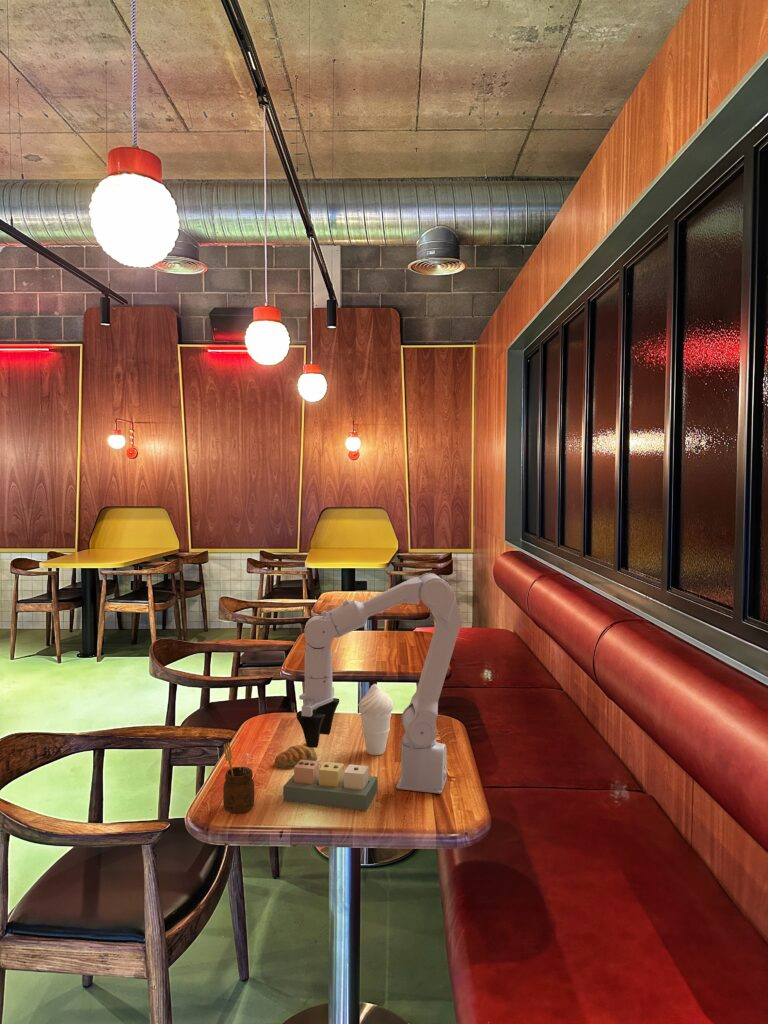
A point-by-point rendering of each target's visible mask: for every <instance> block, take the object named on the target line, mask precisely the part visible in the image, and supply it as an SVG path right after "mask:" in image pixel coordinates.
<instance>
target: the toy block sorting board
mask: <svg viewBox="0 0 768 1024" xmlns="http://www.w3.org/2000/svg"><path fill="white" fill-rule="evenodd" d="M378 777H379V776H373V775H368V785H367V787H366V788H365V790H358V789H349V788H344V781H343V782H342V784H341V785H340V786H339V787H331V786H322V785H319V779H318V780H317V781H316V783H315V784H314V785H313V784H304V783H295V782H294V774H292V776H291V777H290V778H289V779H288V781H286V783H285V784H284V785H283V791H282V792H283V793H282V794H283V795H282V796H283V797H282V800H283V802H288V803H296V804H297V803H298V804H304V805H305V804H306V805H313V806H321V807H329V808H337V809H338V808H339V809H346V810H356V811H362V812H363V811H364V812H365V811H367V810H368V809H369V807H370V805H371V804H372V802H373V801H374V798H375V796H376V794H377V793H378V781H379V779H378Z"/></svg>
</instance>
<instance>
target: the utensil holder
mask: <svg viewBox="0 0 768 1024" xmlns="http://www.w3.org/2000/svg"><path fill="white" fill-rule="evenodd" d="M223 750H224V756H225V761H228V765H229V769H227V770H226V772H225V776H224V779H225V780H224V783H223V788H222V789H223V791H222V792H223V796H222V797H223V799H222V800H223V801H222V802H223V809H224V810H225V811H226V812H227V813H230V814H243V813H247V812H249V811H251V810H252V809H253V808H254V806H255V781H254V779H253V776H254V775H253V770H252V769H251V767H252V766H250V764H252V762H253V760H252V759H251V757H252V756H251V754H250V753H249V752H248V753H247V752H246V753H243V754H242V756H240V759H241V760H239V762H238V764H239V766H236V767H233V766H232V765H233V764H232V759H233V754H232V749H231V745H230V742H229V741H228V742H227V743H224V744H223ZM247 755H248V757H249V758H248V759H249V760H248V759H245V758H247ZM243 756H244V757H243ZM242 757H243V759H242ZM244 759H245V761H244V763H242V761H243V760H244ZM247 761H249V763H250V764H248V765H247V766H242V764H243V765H246V763H247ZM245 762H246V763H245Z"/></svg>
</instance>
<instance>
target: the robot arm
mask: <svg viewBox="0 0 768 1024" xmlns="http://www.w3.org/2000/svg"><path fill="white" fill-rule="evenodd" d="M420 600H421V601H422V603H423V604H424V605H425V606H426V608H428V609H429V610H430V612H431V614H432V616H433V617H434V619H435V621H436V623H435V626H434V629H433V634H432V636H431V641H430V643H429V647H428V649H427V654H426V657H425V660H424V663H423V667H422V671H421V672H420V677H419V681H418V683H417V687H416V690H415V692H414V694H413V695H412V696H411V699H410V701H409V704H408V705H407V707H406V708H404V710H403V711H402V714H401V725H402V727H403V728H404V730H405V733H404V735H403V736H402V737H401V751H400V752H401V757H400V758H401V759H400V760H401V762H400V764H401V766H400V768H401V770H400V772H401V773H400V775H401V776H400V778H399V780H398V782H397V784H396V787H395V788H396V789H397V790H405V791H413V792H423V793H432V794H439V795H440V794H442V792H443V791H444V787H445V784H446V782H447V745H446V744H445V743H440V742H438V741H437V740H436V738H437V734H438V730H437V725H436V724H437V719H438V714H439V712H438V711H439V708H438V707H439V699H440V696H441V692H442V690H443V686H444V682H445V679H446V676H447V672H448V669H449V666H450V663H451V659H452V656H453V652H454V650H455V646H456V642H457V639H458V637H459V633H460V629H461V625H462V616H461V612H460V609H459V604H458V601H457V598H456V593H455V590H453V588H452V587H451V585H450V584H449V583H448V582H447V581H446V580H444V579H443V578H441V577H440V576H439V575H437V574H436V573H432V572H426V573H423V574H422V575H420V576H416V577H412V578H409V579H407V580H405V581H403V582H401V583H399V584H397V585H395V586H393V587H391V588H389V589H386V590H385V591H382V592H381V593H379V594H377V595H375V596H373V597H371V598H369V599H367V600H365V601H363V602H361V601H358V600H355V599H353V600H351V601H349V599H346V600H343V601H342V605H340V606H338V607H335V608H333V609H331V610H328V611H327V610H324V611H322V612H321V615H315V616H312V617H310V618H309V619H308V620H307V621H306V623H305V625H304V629H303V635H304V639H305V645H304V650H305V652H304V693H301V694H300V695H299V698H298V699H299V700H303V702H302V703H303V705H301V710H299V711H297V712H296V716H295V718H296V719H297V721H298V723H299V724H300V727H301V729H302V732H303V735H304V736H303V737H304V740H305V743H306V745H307V747H312V748H314V749H317V748H318V746H319V742H320V735H327V736H328V735H330V734H331V731H332V726H333V721H334V716H335V714H336V710H337V707H338V705H340V698H336V697H334V696H335V687H334V686H333V651H332V641H333V639H334V638H335V639H337V638H340V637H342V636H345V635H348V634H349V633H351V632H353V631H355V630H358V629H359V628H363V627H365V626H366V624H367V621H368V619H369V618H370V617H372V616H374V615H377V614H379V613H382V612H384V611H387V610H388V609H392V608H393V607H396V606H398V605H401V604H405V603H406V604H411V605H417V606H418V605H420Z"/></svg>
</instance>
